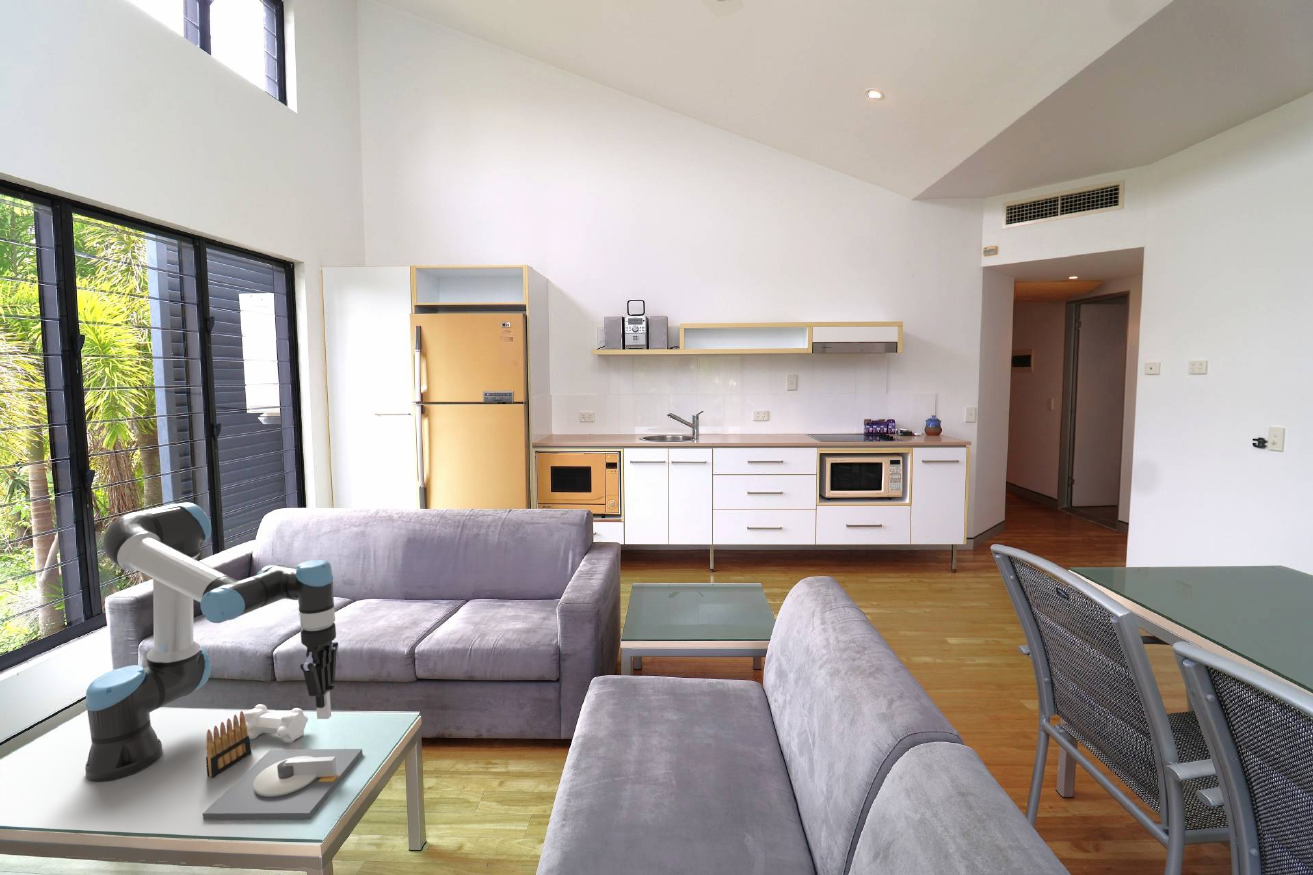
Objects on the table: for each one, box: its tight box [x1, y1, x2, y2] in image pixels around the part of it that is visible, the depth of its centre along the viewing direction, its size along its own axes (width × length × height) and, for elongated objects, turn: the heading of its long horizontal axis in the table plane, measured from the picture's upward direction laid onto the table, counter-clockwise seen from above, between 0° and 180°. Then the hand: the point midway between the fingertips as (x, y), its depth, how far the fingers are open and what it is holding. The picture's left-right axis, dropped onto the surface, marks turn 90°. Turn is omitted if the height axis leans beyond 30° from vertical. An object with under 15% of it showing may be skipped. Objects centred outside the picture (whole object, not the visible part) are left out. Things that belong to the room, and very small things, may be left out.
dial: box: [253, 756, 337, 797], centre depth 154 cm, size 18×14×4 cm
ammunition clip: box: [205, 710, 252, 779], centre depth 162 cm, size 11×2×12 cm, turn 163°
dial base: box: [202, 748, 363, 821], centre depth 154 cm, size 24×24×2 cm
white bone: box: [244, 703, 309, 744], centre depth 175 cm, size 15×9×8 cm, turn 77°
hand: (324, 717), depth 159 cm, fingers closed
